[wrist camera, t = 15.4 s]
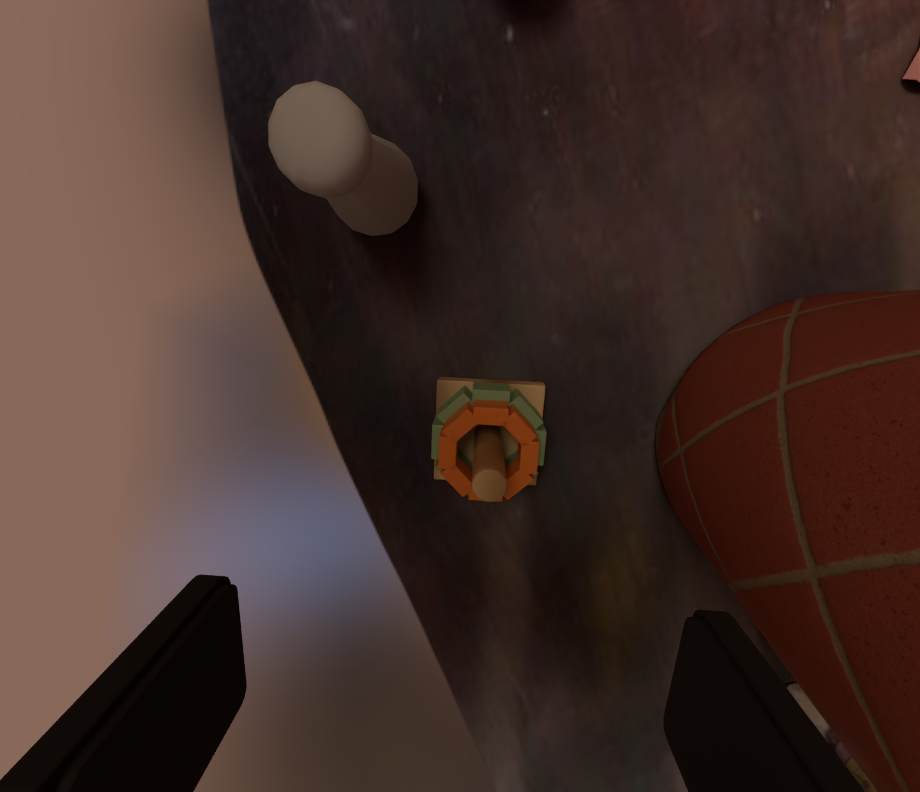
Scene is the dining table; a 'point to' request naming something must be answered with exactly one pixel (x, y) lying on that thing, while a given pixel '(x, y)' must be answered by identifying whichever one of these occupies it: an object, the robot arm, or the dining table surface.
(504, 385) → the bottom ring
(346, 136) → the salt shaker
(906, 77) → the cloth
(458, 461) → the top ring
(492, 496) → the post
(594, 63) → the dining table surface
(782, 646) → the planter
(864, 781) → the figurine
